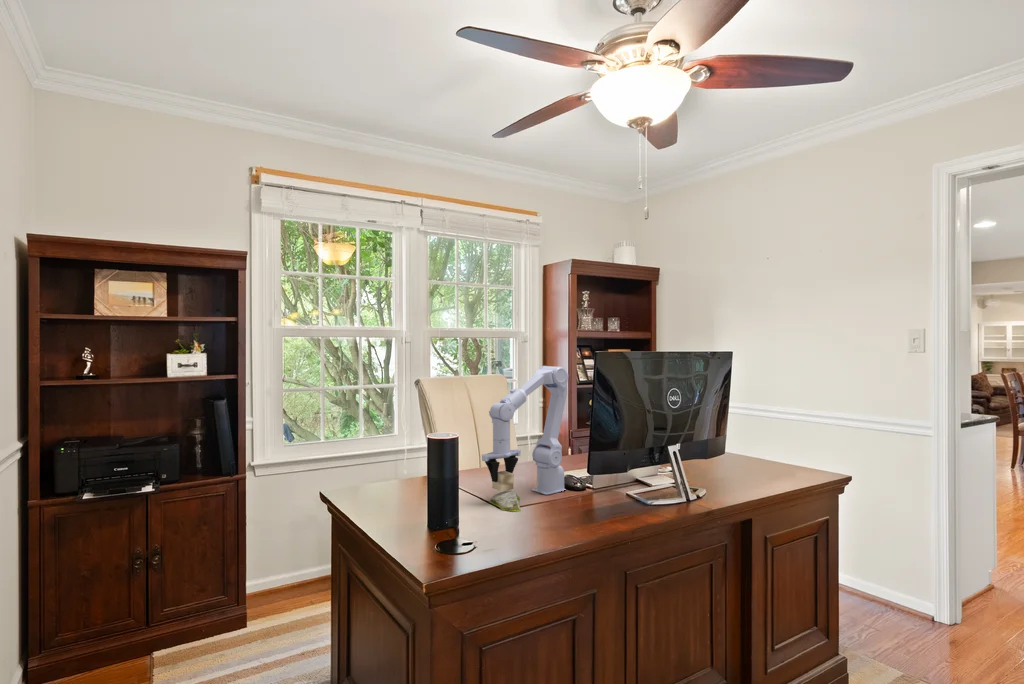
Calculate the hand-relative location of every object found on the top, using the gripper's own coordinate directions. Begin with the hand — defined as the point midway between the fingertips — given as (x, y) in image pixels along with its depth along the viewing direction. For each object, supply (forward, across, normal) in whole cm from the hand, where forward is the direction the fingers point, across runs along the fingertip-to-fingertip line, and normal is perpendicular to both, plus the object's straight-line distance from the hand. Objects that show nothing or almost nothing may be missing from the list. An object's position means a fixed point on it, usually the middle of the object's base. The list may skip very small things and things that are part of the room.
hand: (501, 480), depth 186 cm
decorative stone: (+8, +1, -1) cm, 8 cm away
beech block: (+2, 0, 0) cm, 3 cm away
